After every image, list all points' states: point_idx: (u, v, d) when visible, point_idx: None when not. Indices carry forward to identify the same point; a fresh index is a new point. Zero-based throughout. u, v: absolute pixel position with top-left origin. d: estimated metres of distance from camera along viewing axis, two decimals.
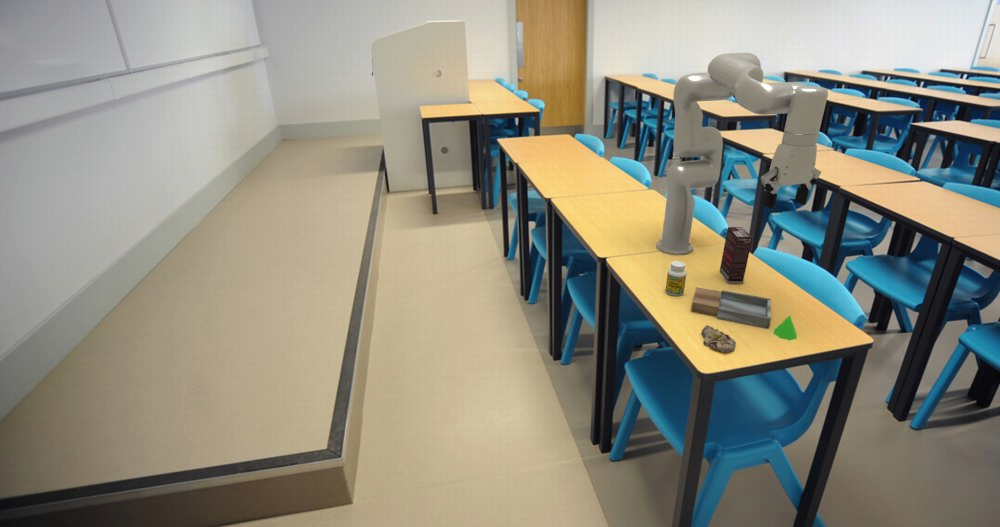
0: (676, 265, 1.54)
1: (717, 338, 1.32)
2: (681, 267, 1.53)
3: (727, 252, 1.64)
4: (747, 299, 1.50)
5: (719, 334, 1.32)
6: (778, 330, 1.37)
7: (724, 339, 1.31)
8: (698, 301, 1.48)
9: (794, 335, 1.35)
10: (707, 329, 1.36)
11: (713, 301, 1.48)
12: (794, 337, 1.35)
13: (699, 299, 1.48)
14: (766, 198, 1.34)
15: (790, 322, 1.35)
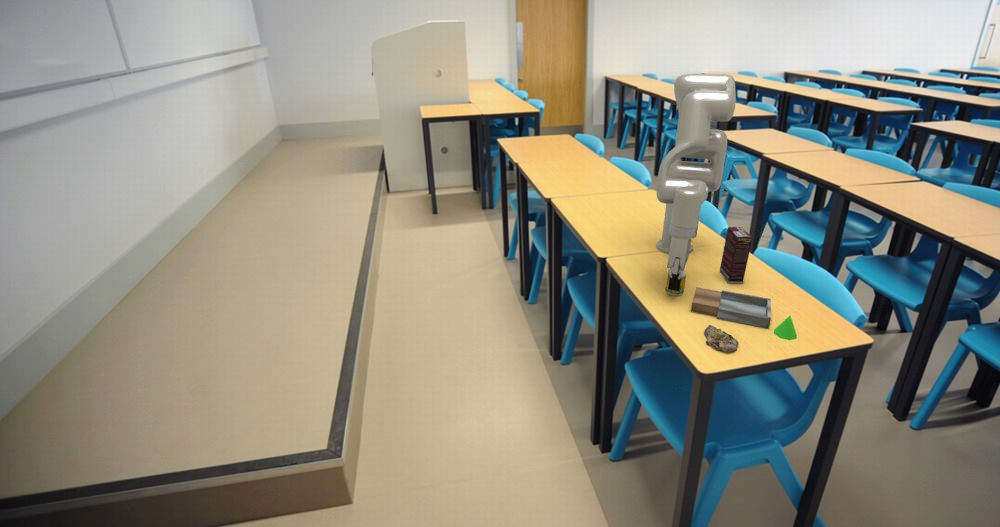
0: None
1: (720, 338, 1.32)
2: None
3: (727, 252, 1.64)
4: (747, 299, 1.50)
5: (722, 334, 1.32)
6: (778, 330, 1.37)
7: (727, 339, 1.31)
8: (698, 301, 1.48)
9: (794, 335, 1.35)
10: (710, 329, 1.36)
11: (713, 301, 1.48)
12: (794, 337, 1.35)
13: (699, 299, 1.48)
14: (673, 284, 1.54)
15: (790, 322, 1.35)
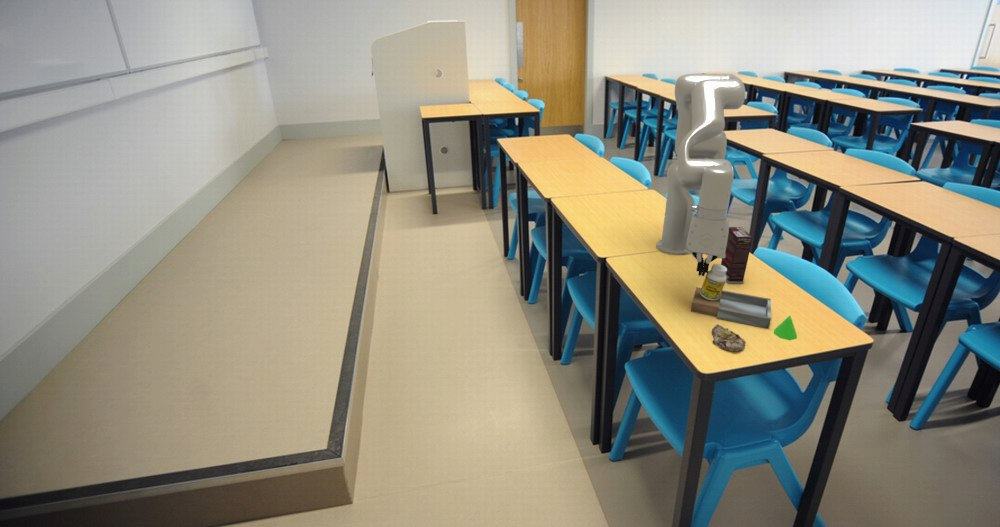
0: (718, 269, 1.43)
1: (726, 337, 1.32)
2: (723, 271, 1.43)
3: (727, 252, 1.64)
4: (747, 299, 1.50)
5: (729, 333, 1.32)
6: (778, 330, 1.37)
7: (733, 338, 1.31)
8: (698, 301, 1.48)
9: (794, 335, 1.35)
10: (717, 328, 1.36)
11: (713, 301, 1.48)
12: (794, 337, 1.35)
13: (699, 299, 1.48)
14: (708, 267, 1.46)
15: (790, 322, 1.35)
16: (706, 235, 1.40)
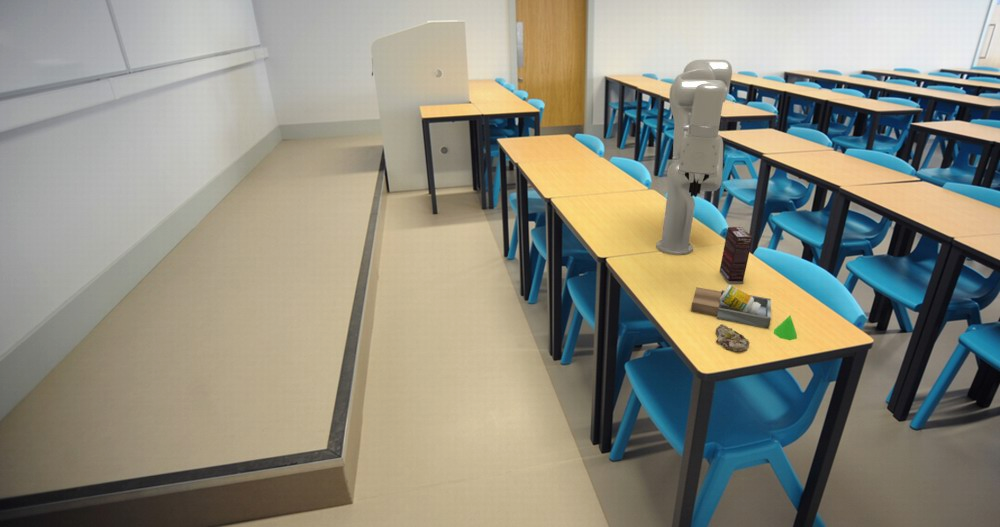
0: (755, 313, 1.42)
1: (730, 337, 1.32)
2: None
3: (727, 252, 1.64)
4: None
5: (732, 333, 1.32)
6: (778, 330, 1.37)
7: (737, 338, 1.31)
8: (698, 301, 1.48)
9: (794, 335, 1.35)
10: (721, 328, 1.37)
11: (713, 301, 1.48)
12: (794, 337, 1.35)
13: (699, 299, 1.48)
14: (700, 188, 1.49)
15: (790, 322, 1.35)
16: (698, 153, 1.43)
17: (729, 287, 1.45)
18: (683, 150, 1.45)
